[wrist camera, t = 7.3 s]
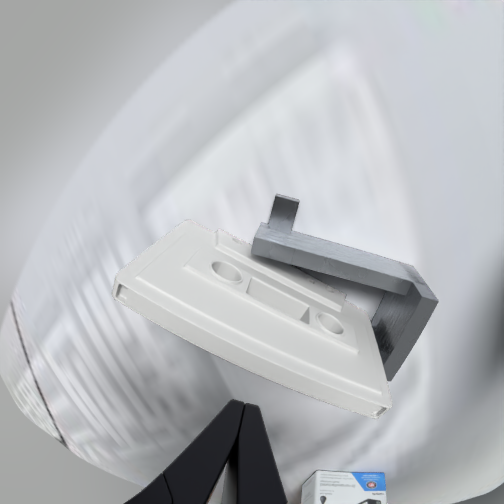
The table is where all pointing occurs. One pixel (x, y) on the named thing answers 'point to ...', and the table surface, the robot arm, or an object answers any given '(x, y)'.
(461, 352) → the table surface
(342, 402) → the cassette
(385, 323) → the bracket
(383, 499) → the ink box
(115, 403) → the table surface
